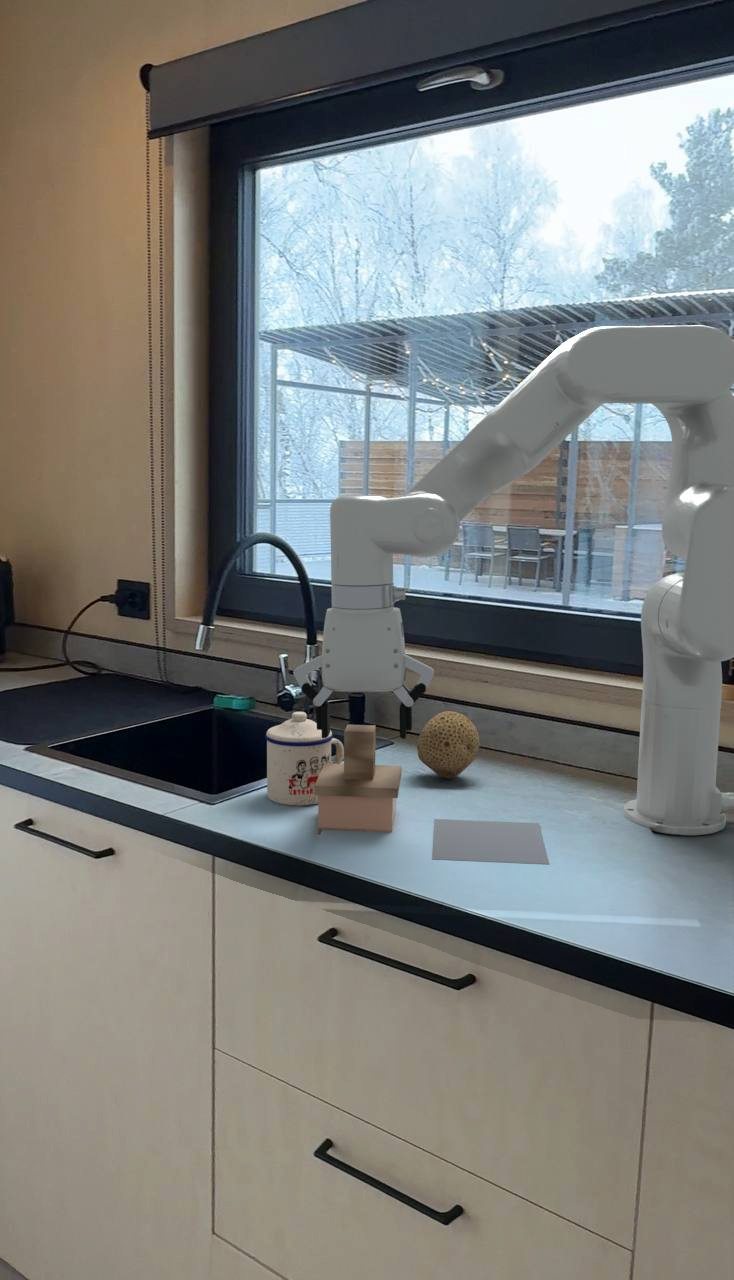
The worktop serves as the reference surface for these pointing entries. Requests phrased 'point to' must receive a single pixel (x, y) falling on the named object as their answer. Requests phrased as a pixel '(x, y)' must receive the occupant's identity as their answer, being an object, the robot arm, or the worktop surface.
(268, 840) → the worktop surface
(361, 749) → the lid
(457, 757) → the natural sponge
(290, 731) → the teacup with lid
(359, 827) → the dish
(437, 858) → the mat
